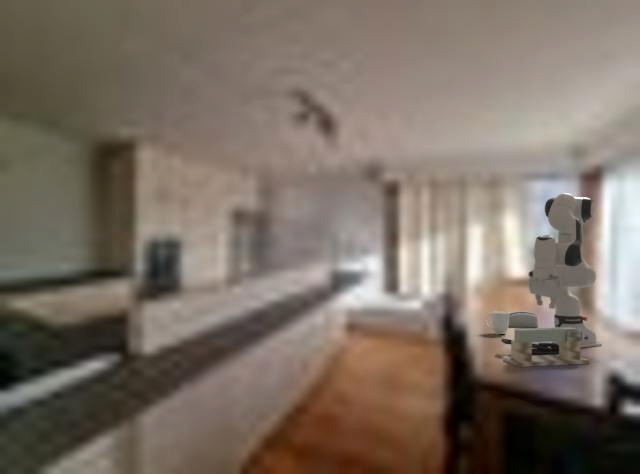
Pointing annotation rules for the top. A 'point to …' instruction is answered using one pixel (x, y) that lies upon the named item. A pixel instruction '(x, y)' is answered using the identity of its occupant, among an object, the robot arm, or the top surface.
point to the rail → (542, 334)
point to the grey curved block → (523, 319)
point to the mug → (499, 321)
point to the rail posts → (566, 356)
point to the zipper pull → (540, 348)
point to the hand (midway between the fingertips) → (545, 306)
